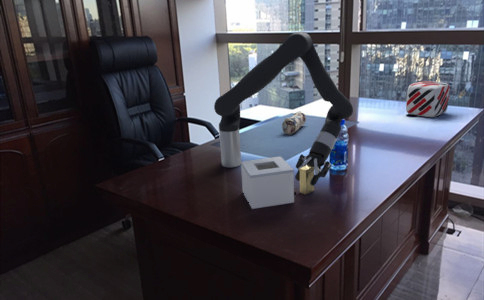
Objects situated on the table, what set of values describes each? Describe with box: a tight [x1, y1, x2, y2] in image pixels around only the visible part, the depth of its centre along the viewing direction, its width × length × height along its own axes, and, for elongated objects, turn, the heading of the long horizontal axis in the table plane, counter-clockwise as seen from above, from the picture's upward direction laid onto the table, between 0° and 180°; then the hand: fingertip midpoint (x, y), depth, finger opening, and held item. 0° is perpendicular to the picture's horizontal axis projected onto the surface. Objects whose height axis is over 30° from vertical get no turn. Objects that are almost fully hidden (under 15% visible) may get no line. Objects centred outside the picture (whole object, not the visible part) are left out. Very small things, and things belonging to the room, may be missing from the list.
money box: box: [240, 156, 295, 210], centre depth 151 cm, size 15×16×13 cm
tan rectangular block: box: [299, 164, 315, 195], centre depth 154 cm, size 3×5×10 cm, turn 133°
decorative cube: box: [405, 80, 451, 118], centre depth 253 cm, size 20×20×20 cm
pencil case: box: [281, 110, 307, 136], centre depth 237 cm, size 22×8×10 cm, turn 154°
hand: (304, 182), depth 154 cm, fingers open, 6 cm apart
